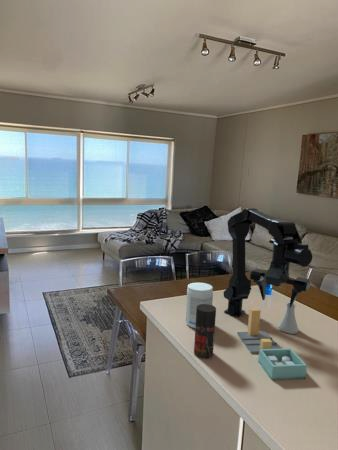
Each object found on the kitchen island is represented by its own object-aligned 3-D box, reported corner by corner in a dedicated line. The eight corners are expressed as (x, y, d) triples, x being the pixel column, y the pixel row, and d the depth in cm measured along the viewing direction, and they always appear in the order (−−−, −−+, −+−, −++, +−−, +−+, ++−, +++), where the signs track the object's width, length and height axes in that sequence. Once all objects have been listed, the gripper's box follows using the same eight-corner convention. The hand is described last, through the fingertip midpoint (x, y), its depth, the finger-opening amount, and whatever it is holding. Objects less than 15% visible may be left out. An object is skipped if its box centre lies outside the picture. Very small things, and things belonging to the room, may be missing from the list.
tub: (258, 361, 100) (259, 349, 99) (289, 360, 101) (290, 348, 100) (271, 380, 91) (272, 366, 90) (305, 378, 92) (306, 365, 92)
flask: (299, 328, 124) (302, 302, 122) (298, 336, 117) (301, 309, 116) (279, 324, 127) (281, 299, 125) (276, 331, 120) (279, 305, 119)
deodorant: (192, 348, 105) (195, 303, 103) (210, 348, 106) (213, 304, 104) (195, 358, 100) (198, 311, 97) (214, 358, 100) (218, 311, 98)
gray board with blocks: (237, 334, 117) (239, 307, 115) (265, 334, 118) (267, 307, 117) (250, 354, 104) (253, 324, 103) (282, 353, 106) (285, 323, 104)
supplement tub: (216, 326, 122) (219, 288, 120) (196, 332, 117) (198, 292, 115) (199, 316, 130) (202, 280, 128) (180, 321, 125) (182, 284, 123)
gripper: (245, 258, 109) (241, 303, 111) (304, 269, 98) (298, 318, 100) (257, 252, 118) (253, 294, 120) (312, 262, 107) (307, 308, 109)
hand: (276, 303), depth 112 cm, fingers open, 9 cm apart
